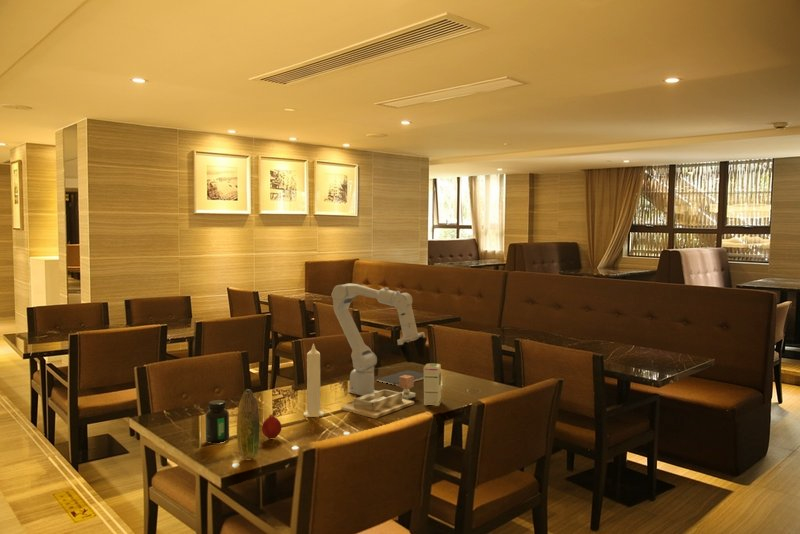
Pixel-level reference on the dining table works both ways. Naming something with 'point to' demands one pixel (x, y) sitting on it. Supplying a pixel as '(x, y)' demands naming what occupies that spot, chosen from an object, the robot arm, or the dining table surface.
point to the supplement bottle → (217, 422)
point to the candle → (313, 384)
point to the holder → (378, 403)
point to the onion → (271, 427)
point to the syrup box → (432, 384)
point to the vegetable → (248, 425)
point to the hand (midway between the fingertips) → (416, 359)
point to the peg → (406, 386)
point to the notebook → (395, 377)
